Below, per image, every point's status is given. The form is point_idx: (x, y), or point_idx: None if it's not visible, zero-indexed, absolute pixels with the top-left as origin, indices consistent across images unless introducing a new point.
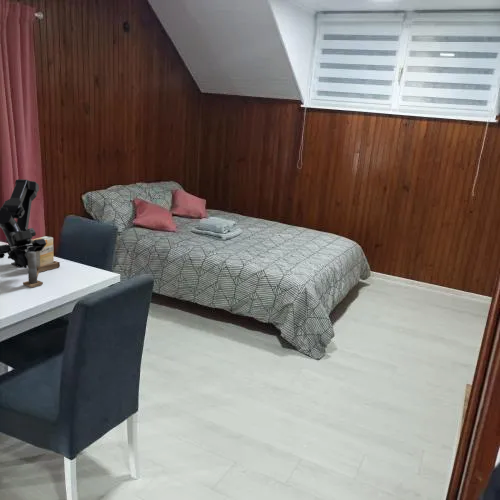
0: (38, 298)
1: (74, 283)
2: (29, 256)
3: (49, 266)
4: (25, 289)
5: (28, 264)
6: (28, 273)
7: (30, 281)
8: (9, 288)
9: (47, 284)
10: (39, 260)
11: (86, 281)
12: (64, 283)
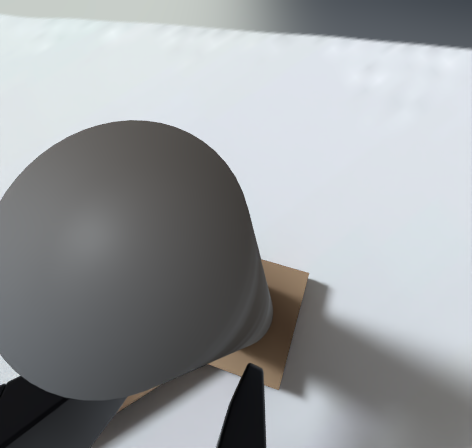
0: (432, 116)
1: (108, 102)
2: (256, 246)
3: None
4: (347, 301)
5: (264, 311)
6: (263, 330)
7: (272, 307)
8: (403, 444)
9: None
10: None
11: (56, 71)
12: None
